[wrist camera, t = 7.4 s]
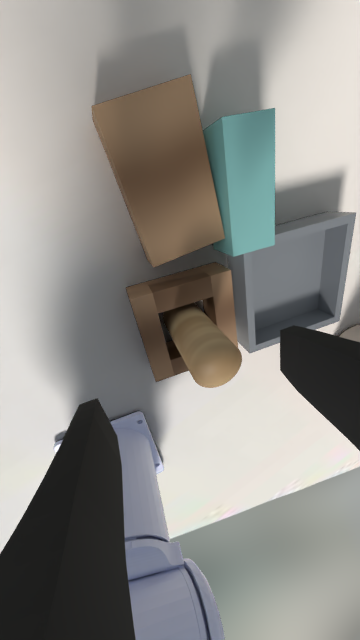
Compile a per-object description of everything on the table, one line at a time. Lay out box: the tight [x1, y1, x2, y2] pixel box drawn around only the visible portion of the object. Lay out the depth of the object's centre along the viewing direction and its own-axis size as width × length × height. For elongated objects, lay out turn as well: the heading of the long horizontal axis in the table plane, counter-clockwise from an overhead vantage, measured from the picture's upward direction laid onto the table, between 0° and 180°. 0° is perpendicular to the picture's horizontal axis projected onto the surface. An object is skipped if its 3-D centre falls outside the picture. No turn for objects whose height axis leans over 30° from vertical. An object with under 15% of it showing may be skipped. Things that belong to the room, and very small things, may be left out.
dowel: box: [163, 303, 242, 388], centre depth 16 cm, size 3×3×7 cm
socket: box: [126, 262, 238, 382], centre depth 18 cm, size 7×7×2 cm
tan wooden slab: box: [92, 74, 225, 267], centre depth 14 cm, size 8×5×2 cm, turn 18°
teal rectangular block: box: [203, 108, 275, 257], centre depth 15 cm, size 7×3×3 cm, turn 11°
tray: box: [227, 212, 356, 353], centre depth 20 cm, size 9×9×2 cm
